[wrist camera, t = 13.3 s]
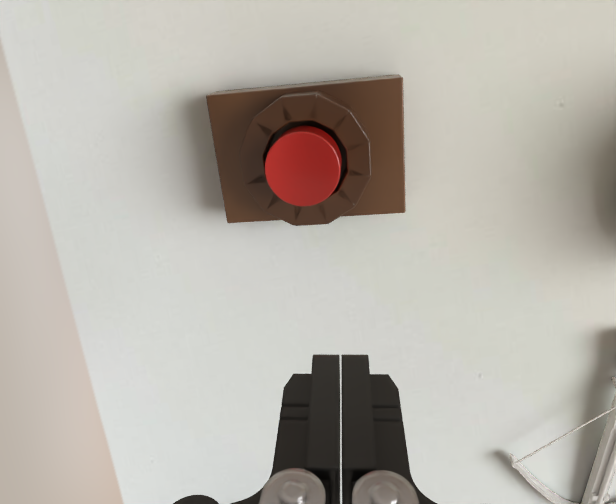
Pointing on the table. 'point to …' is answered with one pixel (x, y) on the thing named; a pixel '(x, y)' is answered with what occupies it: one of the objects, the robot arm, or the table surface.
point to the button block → (328, 117)
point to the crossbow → (609, 458)
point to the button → (303, 166)
